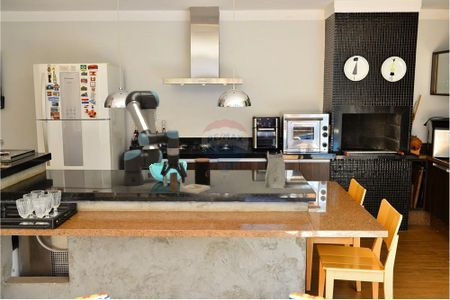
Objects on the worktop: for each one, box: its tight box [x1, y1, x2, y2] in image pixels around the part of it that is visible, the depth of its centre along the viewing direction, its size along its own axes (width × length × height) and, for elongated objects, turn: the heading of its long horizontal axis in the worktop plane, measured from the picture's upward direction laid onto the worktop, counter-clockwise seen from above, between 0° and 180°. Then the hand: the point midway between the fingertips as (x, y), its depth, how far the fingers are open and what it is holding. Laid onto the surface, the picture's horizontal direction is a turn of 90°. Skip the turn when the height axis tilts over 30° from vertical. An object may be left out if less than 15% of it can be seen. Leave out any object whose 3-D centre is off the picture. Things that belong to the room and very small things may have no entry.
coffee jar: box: [194, 157, 211, 186], centre depth 301 cm, size 11×11×18 cm
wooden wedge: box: [169, 171, 179, 193], centre depth 284 cm, size 3×5×12 cm, turn 148°
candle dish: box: [179, 183, 211, 195], centre depth 286 cm, size 14×14×3 cm
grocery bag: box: [264, 150, 286, 189], centre depth 307 cm, size 32×14×23 cm, turn 174°
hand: (173, 187), depth 285 cm, fingers open, 13 cm apart
